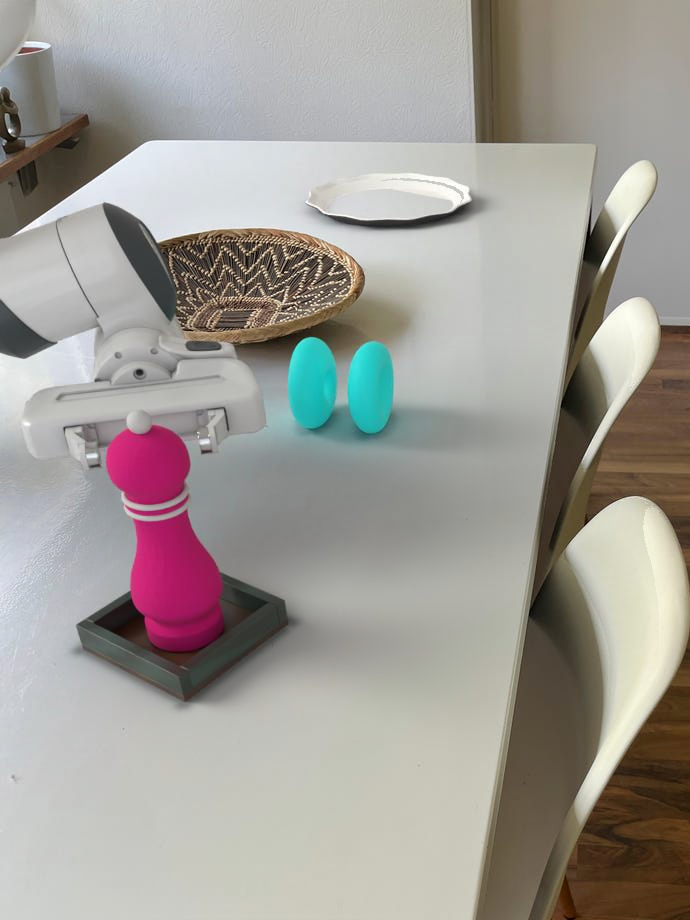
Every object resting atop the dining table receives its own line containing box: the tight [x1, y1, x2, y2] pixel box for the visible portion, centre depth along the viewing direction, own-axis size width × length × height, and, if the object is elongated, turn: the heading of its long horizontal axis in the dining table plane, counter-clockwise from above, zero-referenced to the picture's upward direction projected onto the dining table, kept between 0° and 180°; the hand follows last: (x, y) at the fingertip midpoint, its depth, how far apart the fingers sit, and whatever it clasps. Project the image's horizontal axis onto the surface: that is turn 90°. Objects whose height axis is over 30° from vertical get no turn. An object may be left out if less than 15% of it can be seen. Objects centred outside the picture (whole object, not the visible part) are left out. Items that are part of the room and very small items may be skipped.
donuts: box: [287, 336, 395, 435], centre depth 114 cm, size 10×10×10 cm
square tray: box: [75, 571, 289, 703], centre depth 86 cm, size 12×12×3 cm
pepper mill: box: [105, 410, 224, 652], centre depth 80 cm, size 7×7×20 cm
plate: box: [305, 172, 473, 228], centre depth 184 cm, size 29×29×2 cm
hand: (150, 454), depth 84 cm, fingers open, 8 cm apart
